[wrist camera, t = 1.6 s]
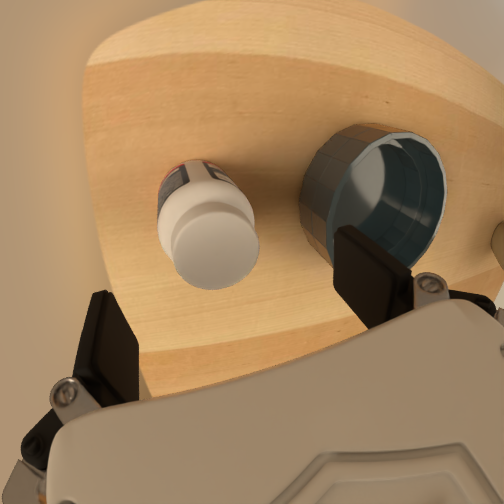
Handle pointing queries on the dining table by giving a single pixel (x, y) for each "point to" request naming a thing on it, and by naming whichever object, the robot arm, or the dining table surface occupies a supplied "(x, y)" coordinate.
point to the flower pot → (498, 244)
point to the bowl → (375, 191)
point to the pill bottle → (206, 225)
